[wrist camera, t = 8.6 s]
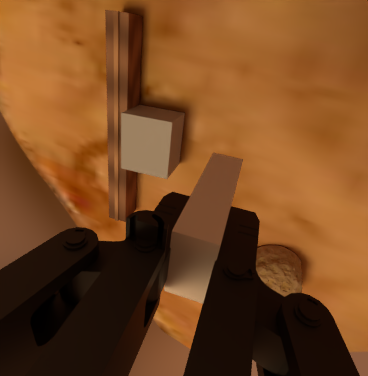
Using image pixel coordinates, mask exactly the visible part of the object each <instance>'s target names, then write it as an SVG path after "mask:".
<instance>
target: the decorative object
mask: <svg viewBox="0 0 368 376" xmlns="http://www.w3.org/2000/svg"><path fill="white" fill-rule="evenodd" d="M256 271H257V273H258V276H259V277H260V278H261V280H262V281H263V282H264V283H265V284H266V285H267V286H268V287H270V288H271V289H273V290H274V291H276V292H278V293H279V294H281V295H283V296H284V297H285V296H287V295H289V294H291V293H301V292H302V270H301V260H300V259H299V258H298V257H297V255H296V254H295V253H293V252H292V251H290V250H288V249H286V248H284V247H282V246H279V245H266V246H262V247H259V248H257V257H256Z"/></svg>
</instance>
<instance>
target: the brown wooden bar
mask: <svg viewBox="0 0 368 376" xmlns="http://www.w3.org/2000/svg"><path fill="white" fill-rule="evenodd" d="M105 13H106V68H107V122H108V176H109V217H110V218H113V219H115V220H116V221H118V220H121V221H124V222H126V217H128V216H129V215H130V214H131V213H133V212H134V211H135V207H136V180H137V172H135V171H130V170H126V169H122V168H121V113H122V112H124V111H126V110H129V109H131V108H133V107H136V106H138V105H139V100H140V73H141V46H142V19H143V16H140V15H136V14H132V13H126V12H119V11H110V10H105Z"/></svg>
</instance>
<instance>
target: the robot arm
mask: <svg viewBox="0 0 368 376" xmlns="http://www.w3.org/2000/svg"><path fill="white" fill-rule="evenodd" d="M242 162H243V159H239V158H235V157H230V156H226V155H222V154H217V153H213V154H212V156H211V158H210V160H209V162H208V164H207V166H206V168H205V169H204V171H203V173H202V175H201V177H200V179H199V181H198V183H197V185H196V186H195V188H194V190H193V192H192V194H191V196H187V195H183V194H179V193H175V192H171V193H169V194H167V195H166V196H164V197H163V198H162V200H161V201H160V203H159V205H158V206H157V207H156V208H155V211H148V210H144V211H137V212H134V213H131V214H130V215H129V216H128V217H126V239H125V240H124V241H115V242H112V241H98V237H97V234H96V233H95V232H94V231H92V230H90V229H87V228H80V227H76V228H71V229H67V230H65V231H63V232H60V233H59V234H57V235H56V236H54V237H53V238H51V239H49V240H48V241H46V242H44V243H43V244H41V245H40V246H38V247H36V248H35V249H33V250H31V251H30V252H28V253H27V254H25V255H23V256H22V257H20V258H18V259H17V260H15V261H14V262H12V263H10V264H9V265H8V266H5V267H4V268H2V269H1V270H0V376H128V375H129V373H130V370H131V368H132V365H133V363H134V361H135V359H136V356H137V354H138V352H139V349H140V347H141V345H142V342H143V340H144V338H145V335H146V333H147V331H148V328H149V326H150V324H151V321H152V319H153V317H154V314H155V312H156V310H157V308H158V305H159V301H160V294H161V291H162V289H163V287H164V285H165V289H164V291H167V292H170V293H173V294H176V295H179V296H182V297H185V298H188V299H191V300H194V301H197V302H200V303H203V306H202V310H201V313H200V317H199V320H198V324H197V328H196V331H195V335H194V339H193V342H192V346H191V350H190V353H189V357H188V361H187V364H186V368H185V372H184V375H183V376H251V368H252V359H253V360H254V361H255V362H256V365H257V371H258V376H360V375H359V373H358V371H357V369H356V366H355V365H354V362H353V360H352V358H351V355H350V353H349V351H348V349H347V347H346V344H345V342H344V340H343V338H342V336H341V334H340V331H339V329H338V327H337V325H336V323H335V320H334V318H333V316H332V315H331V313H330V312H329V310H328V309H327V308H326V307H325V306H324V305H323V304H322V303H321V302H320V301H319V300H317V299H315V298H313V297H312V296H310V295H307V294H303V293H291V294H289V295H287V296H285V297H284V296H283V295H281V294H279V293H278V292H276V291H274V290H273V289H271V288H270V287H268V286H267V285H266V284H265V283H264V282H263V281H262V280H261V278H260V277H259V276H258V273H257V271H256V257H257V245H258V234H259V222H260V221H259V219H258V217H257V215H256V213H255V212H251V211H247V210H243V209H240V208H236V207H232V206H231V204H232V201H233V197H234V193H235V189H236V185H237V181H238V177H239V173H240V169H241V165H242Z"/></svg>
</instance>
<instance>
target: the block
mask: <svg viewBox="0 0 368 376" xmlns="http://www.w3.org/2000/svg"><path fill="white" fill-rule="evenodd" d="M184 116H185V113H183V112H177V111H172V110H166V109H161V108H155V107H150V106H144V105H138V106H136V107H133V108H131V109H129V110H126V111H124V112H122V113H121V168H122V169H126V170H130V171H135V172H139V173H143V174H148V175H152V176H156V177H161V178H165V179H168V177H169V176H170V175H171V173H172V172H173V171H174V170H175V168H176V167H177V166H178V165H179V161H180V152H181V143H182V134H183V125H184Z"/></svg>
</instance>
